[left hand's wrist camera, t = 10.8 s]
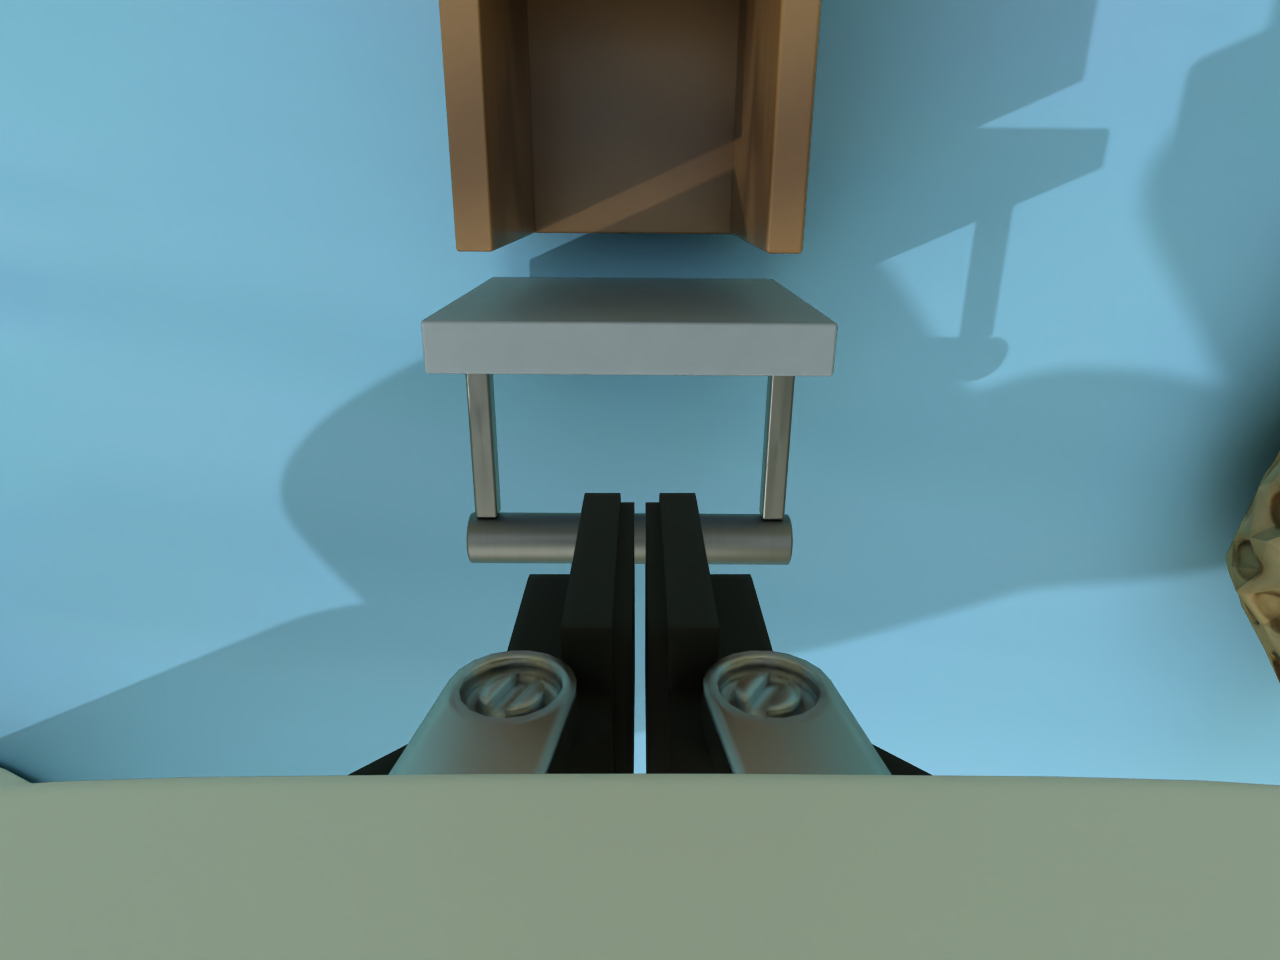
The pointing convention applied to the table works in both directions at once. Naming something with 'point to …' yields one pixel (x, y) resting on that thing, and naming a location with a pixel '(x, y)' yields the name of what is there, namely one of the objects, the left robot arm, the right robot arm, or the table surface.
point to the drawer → (629, 220)
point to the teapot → (1260, 563)
